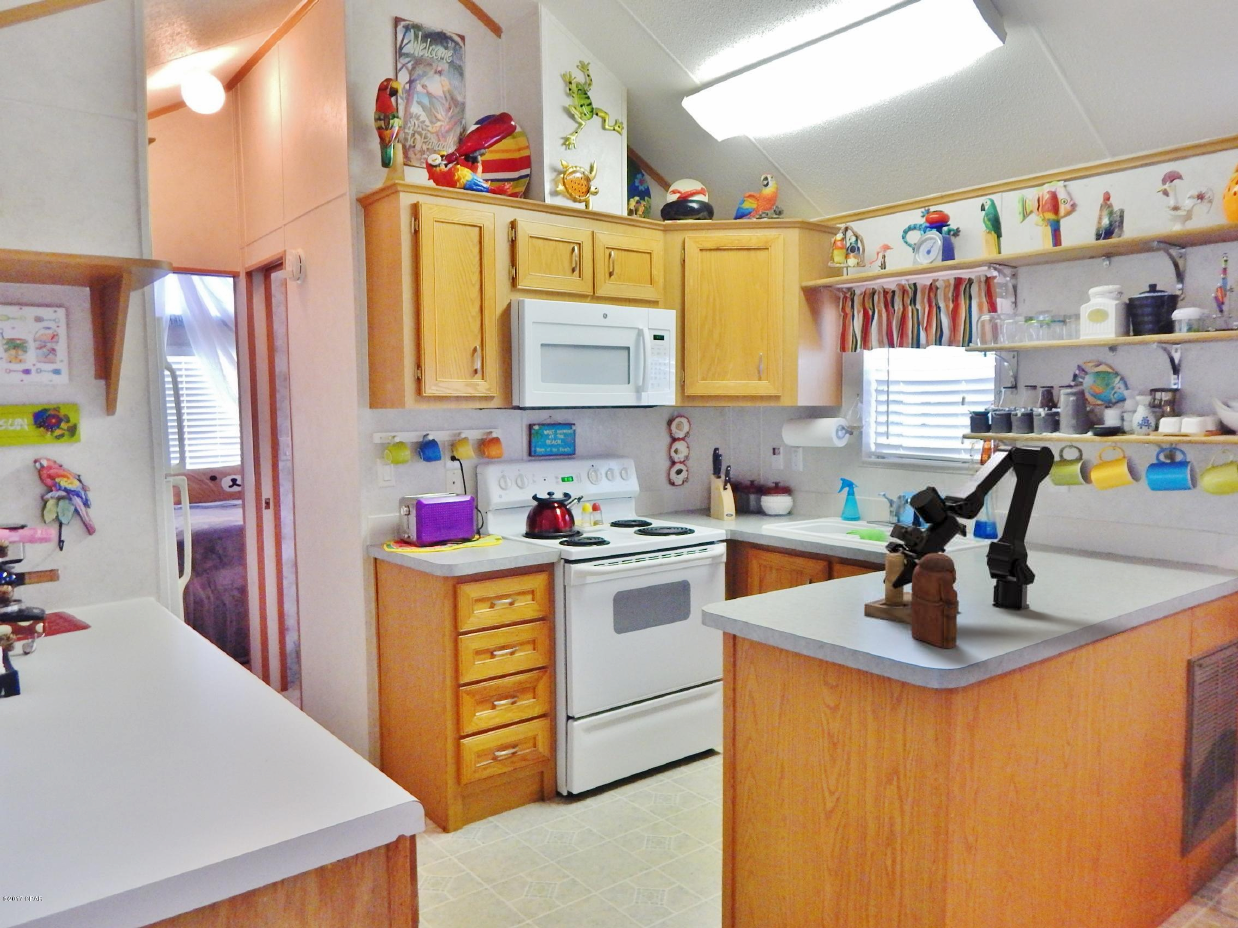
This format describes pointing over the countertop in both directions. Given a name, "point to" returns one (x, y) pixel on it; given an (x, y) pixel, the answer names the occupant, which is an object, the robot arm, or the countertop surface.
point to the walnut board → (892, 609)
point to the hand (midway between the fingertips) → (888, 585)
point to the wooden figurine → (934, 601)
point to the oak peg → (892, 572)
